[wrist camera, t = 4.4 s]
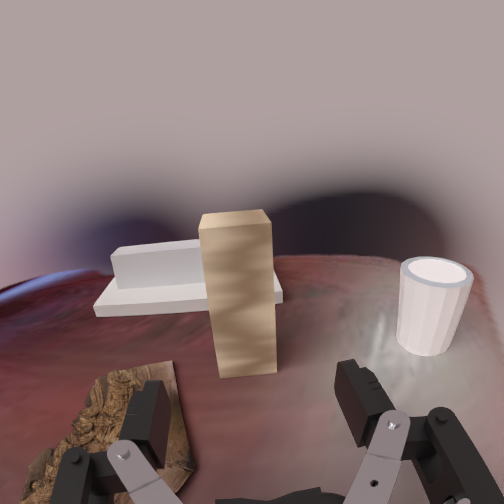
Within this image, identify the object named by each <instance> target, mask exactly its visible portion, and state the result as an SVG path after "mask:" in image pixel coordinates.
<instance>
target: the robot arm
mask: <svg viewBox="0 0 504 504" xmlns="http://www.w3.org/2000/svg"><path fill="white" fill-rule="evenodd" d="M334 389H335V395H336V398H337V400H338V402H339V405H340V407H341V409H342V412H343V414H344V416H345V419H346V421H347V423H348V426H349V428H350V430H351V433H352V435H353V437H354V440H355V442H356V444H357V447H358V448H359V447H362V446H366V448H367V453H366V455H365V457H364V459H363V462H362V464H361V466H360V469H359V471H358V473H357V475H356V478H355V480H354V482H353V484H352V486H351V488H350V490H349V492H348V494H347V496H346V497H344V496H342V495H338V494H334V493H321V490H320V487H317V488H312V489H307V490H302V491H296V492H293V493H290V494H287V495H285V496H282V497H279V498H277V499H274V500H271V501H262V500H252V499H243V498H237V499H217V500H215V504H387V503H388V500H389V498H390V495H391V492H392V490H393V487H394V484H395V481H396V478H397V475H398V472H399V469H400V466H401V462H402V461H401V460H412V462H413V464H414V467H415V469H416V471H417V473H418V476H419V478H420V480H421V482H422V485H423V487H424V489H425V492H426V494H427V496H428V499H429V501H430V504H504V497H503V495H502V493H501V491H500V489H499V487H498V485H497V484H496V482H495V480H494V478H493V476H492V475H491V473H490V471H489V469H488V468H487V466H486V464H485V462H484V461H483V459H482V457H481V456H480V454H479V452H478V451H477V449H476V447H475V446H474V444H473V442H472V441H471V439H470V438H469V436H468V434H467V433H466V431H465V430H464V428H463V426H462V425H461V423H460V422H459V420H458V419H457V417H456V416H455V414H454V413H453V412H452V411H451V410H450V409H448V408H445V407H437V408H434V409H432V410H431V411H430V412H429V414H428V416H422V417H408V415H407V414H406V413H404V412H402V411H399V410H396V409H395V407H394V406H393V404H392V402H391V401H390V399H389V397H388V396H387V394H386V392H385V391H384V389H383V388H382V386H381V384H380V383H379V382H378V379H377V378H376V376H375V375H374V373H373V372H371V371H370V370H369V369H367V368H366V367H364V368H359V366H358V364H357V363H356V361H355V360H354V359H351V360H346V361H341V362H338V363H337V369H336V377H335V384H334ZM170 420H171V403H170V400H169V397H168V394H167V391H166V388H165V385H164V382H163V380H146V381H145V385H144V388H143V391H136V392H135V393H134V394H133V395H132V397H131V398H130V400H129V404H128V408H127V411H126V415H125V418H124V421H123V425H122V428H121V432H120V436H119V439H118V441H116V442H114V443H113V444H111V445H110V447H109V448H108V450H106V451H102V452H95V453H88V452H87V451H86V450H85V449H84V448H81V447H72V448H69V449H68V450H66V451H65V452H64V453H63V455H62V458H61V461H60V465H59V468H58V472H57V475H56V479H55V483H54V487H53V491H52V495H51V499H50V503H49V504H113V503H114V495H115V494H116V493H122V492H129V493H128V494H129V495H130V497H131V499H132V500H133V502H134V503H135V504H183V503H182V502H181V501H180V500H179V498H178V497H177V496H176V495H175V494H174V493H173V491H172V490H171V489H170V488H169V487H168V485H167V484H166V483H165V482H164V480H163V479H162V478H161V477H159V475H158V474H157V473H156V472H157V469H165V460H166V452H167V443H168V435H169V428H170Z"/></svg>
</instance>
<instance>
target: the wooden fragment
mask: <svg viewBox="0 0 504 504" xmlns="http://www.w3.org/2000/svg"><path fill="white" fill-rule="evenodd" d="M172 363H174V362H173V361H166V362H161V363H153V364H148V365H143V366H139V367H134V368H131V369H128V370H126V369H123V370H114V371H110V372H109V373H108V375H106V376H102V377H99V378H96V380H95V382H96V384H95V385H94V386H93V387H92V390H91V391H90V393H89V394H88V396H87V398H86V401H85V403H86V406H87V407H85V408H83V410H80V412H79V413H78V417H77V418H76V419H75V420H73V421H72V423H71V425H72V426H73V427H74V428H75V429H76V430H73V432H72V434H71V435H68V436H67V437H65V438H64V439H63V440H62V441H60V442H59V443H58V448H57V449H45V450H43V451H42V452H40V454H39V455H38V456H37V457H36V458H35V459H34V461H33V462H32V464H31V465H29V471H28V477H27V479H26V485H25V486H24V488H23V490H24V494H23V495H22V496H21V501H20V503H19V504H49V503H50V499H51V495H52V491H53V487H54V483H55V479H56V475H57V472H58V468H59V465H60V461H61V458H62V455H63V453H64V452H65V451H66V450H68V449H69V448H72V447H81V448H84V449H85V450H86V451H87V452H88V453H95V452H102V451H106V450H108V448H109V447H110V445H111V444H113V443H114V442H116V441H118V439H119V436H120V432H121V428H122V425H123V421H124V418H125V415H126V411H127V408H128V404H129V400H130V398H131V397H132V395H133V394H134V393H135V392H136V391H143V388H144V385H145V381H146V380H163V382H164V385H165V388H166V391H167V394H168V397H169V400H170V403H171V420H170V428H169V435H168V443H167V452H166V460H165V469H157V472H156V473H157V474H158V475H159V477H161V478H162V479H163V480H164V482H165V483H166V484H167V485H168V487H169V488H170V489H171V490H172V491H173V493H174V494H175V492H177V491H178V490H179V489H180V488H181V486H182V485H183V484H184V482H185V481H186V479H187V478H188V477H189V476H190V474H191V473H192V472H193V471H194V470H195V464H194V461H193V458H192V455H191V454H190V447H189V443H188V440H187V435H186V430H185V425H184V422H183V417H182V412H181V407H180V401H179V395H178V390H177V388H176V387H177V386H176V385H177V384H176V382H175V381H176V379H175V373H174V369H173V364H172ZM181 468H184V469H187V471H186V470H184V469H181ZM188 470H190V471H192V472H188ZM128 493H129V492H122V493H116V494H115V495H114V503H113V504H135V503H134V502H133V500H132V499H131V497H130V495H129V494H128Z"/></svg>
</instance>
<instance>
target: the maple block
mask: <svg viewBox="0 0 504 504" xmlns="http://www.w3.org/2000/svg"><path fill="white" fill-rule="evenodd" d="M198 231H199V239H200V248H201V256H202V263H203V271H204V278H205V286H206V293H207V300H208V307H209V313H210V320H211V326H212V333H213V339H214V345H215V351H216V357H217V363H218V369H219V374H220V378H231V377H242V376H252V375H261V374H269V373H277V354H276V323H275V296H274V271H273V250H272V229H271V222H270V220H269V219H268V217H267V216H266V214H265V213H264V211H263V210H262V209H259V210H248V211H236V212H225V213H213V214H203V216H202V219H201V222H200V225H199V229H198Z"/></svg>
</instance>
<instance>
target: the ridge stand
mask: <svg viewBox="0 0 504 504" xmlns="http://www.w3.org/2000/svg"><path fill="white" fill-rule="evenodd" d="M111 261H112V265H113V270H114V274H115V277H114V279H113V280H112V281H111V283H110V284H109V285H108V287H107V288H106V289H105V290H104V292H103V293H102V294H101V296H100V297H99V299H98V300H97V301H96V303H95V304H94V305H93V307H94V311H95V314H96V317H109V316H132V315H151V314H167V313H182V312H195V311H208V310H209V307H208V300H207V293H206V286H205V278H204V271H203V263H202V256H201V248H200V239H196V240H185V241H175V242H166V243H156V244H146V245H136V246H127V247H119V248H118V249H117V250H116V251H115V252H114V253H113V254H112V255H111ZM273 271H274V269H273ZM274 296H275V304H278V303H283V291H282V288H281V286H280V284H279V281H278V279H277V276H276V274H275V272H274Z"/></svg>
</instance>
